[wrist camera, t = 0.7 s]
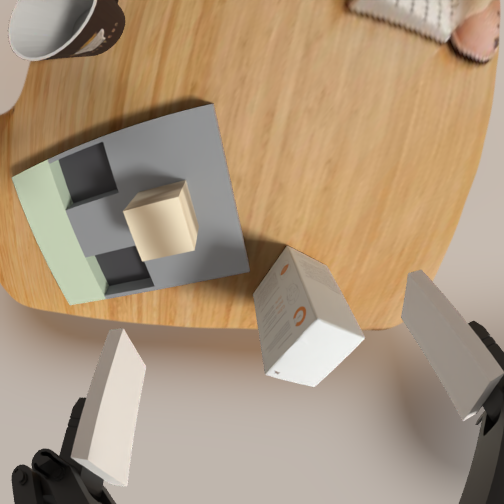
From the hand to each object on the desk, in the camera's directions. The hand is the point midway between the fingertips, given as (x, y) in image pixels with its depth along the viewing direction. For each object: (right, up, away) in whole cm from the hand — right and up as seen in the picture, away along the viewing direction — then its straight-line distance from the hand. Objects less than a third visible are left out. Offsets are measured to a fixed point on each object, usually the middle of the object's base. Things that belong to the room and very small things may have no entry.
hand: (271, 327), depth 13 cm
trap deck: (-15, +8, +18) cm, 25 cm away
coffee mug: (-15, +26, +8) cm, 31 cm away
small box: (+4, 0, +25) cm, 25 cm away
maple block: (-9, +8, +16) cm, 20 cm away
